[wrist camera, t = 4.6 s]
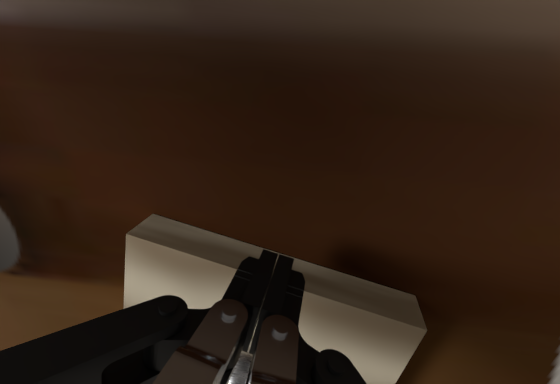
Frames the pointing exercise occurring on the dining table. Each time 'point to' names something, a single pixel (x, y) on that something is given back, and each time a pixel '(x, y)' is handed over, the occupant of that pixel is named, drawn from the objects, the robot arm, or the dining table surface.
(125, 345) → the robot arm
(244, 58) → the dining table surface
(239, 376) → the steel ball
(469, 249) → the dining table surface
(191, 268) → the board
